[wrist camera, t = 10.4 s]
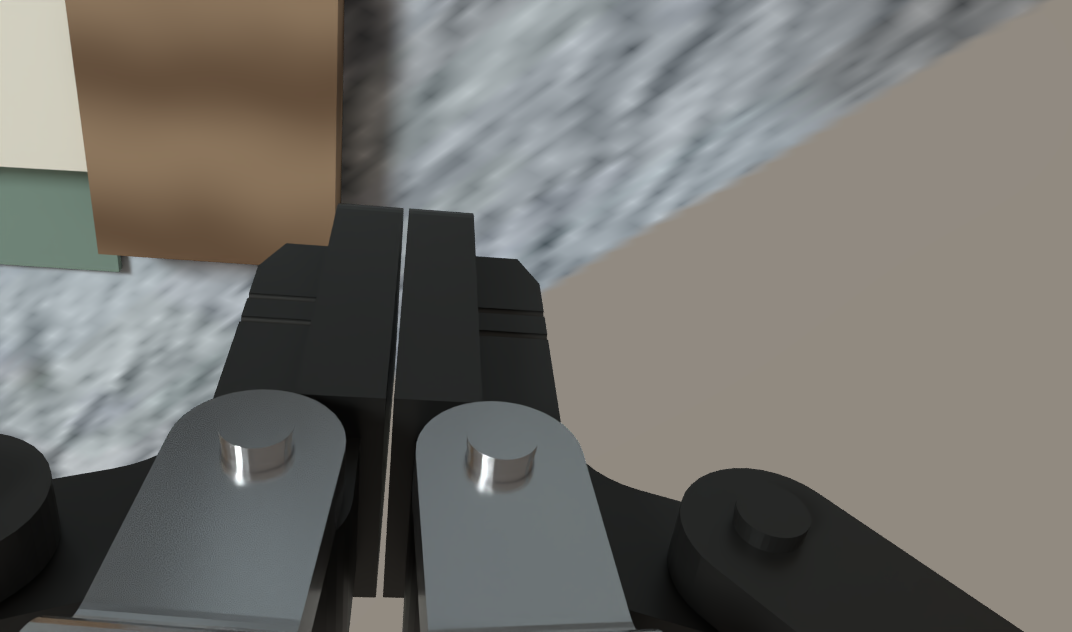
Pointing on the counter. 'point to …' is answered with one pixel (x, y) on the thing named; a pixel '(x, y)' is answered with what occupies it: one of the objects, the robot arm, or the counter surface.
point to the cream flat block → (38, 88)
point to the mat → (49, 221)
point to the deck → (210, 124)
